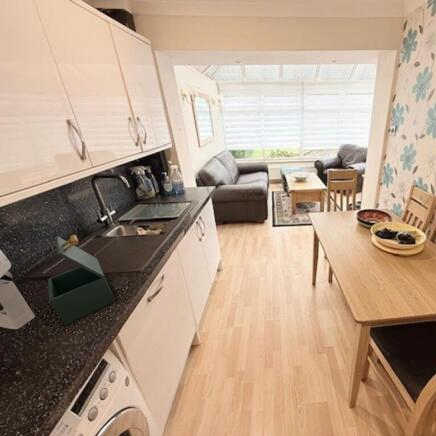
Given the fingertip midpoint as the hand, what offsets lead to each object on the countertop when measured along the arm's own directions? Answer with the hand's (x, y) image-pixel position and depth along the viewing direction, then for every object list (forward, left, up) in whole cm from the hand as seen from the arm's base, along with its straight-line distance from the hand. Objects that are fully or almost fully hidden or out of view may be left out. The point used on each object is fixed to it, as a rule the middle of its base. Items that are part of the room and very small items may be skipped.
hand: (3, 300), depth 59 cm
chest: (+5, +25, -23) cm, 35 cm away
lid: (+8, +26, -5) cm, 28 cm away
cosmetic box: (0, 0, -7) cm, 7 cm away
